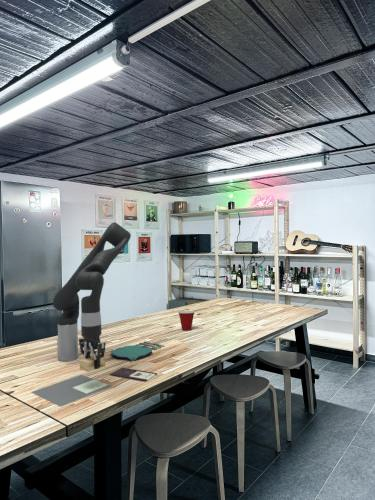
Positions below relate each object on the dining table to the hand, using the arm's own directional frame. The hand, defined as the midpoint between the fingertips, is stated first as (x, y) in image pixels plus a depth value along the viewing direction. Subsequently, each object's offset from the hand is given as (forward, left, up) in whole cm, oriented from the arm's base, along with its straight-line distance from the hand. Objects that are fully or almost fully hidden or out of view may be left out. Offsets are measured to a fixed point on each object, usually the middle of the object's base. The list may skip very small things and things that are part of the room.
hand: (92, 367), depth 139 cm
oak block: (0, 0, 0) cm, 0 cm away
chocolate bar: (+3, +18, -9) cm, 21 cm away
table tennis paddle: (-20, +42, -9) cm, 47 cm away
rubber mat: (-4, -7, -8) cm, 11 cm away
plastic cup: (-28, +92, -8) cm, 97 cm away
